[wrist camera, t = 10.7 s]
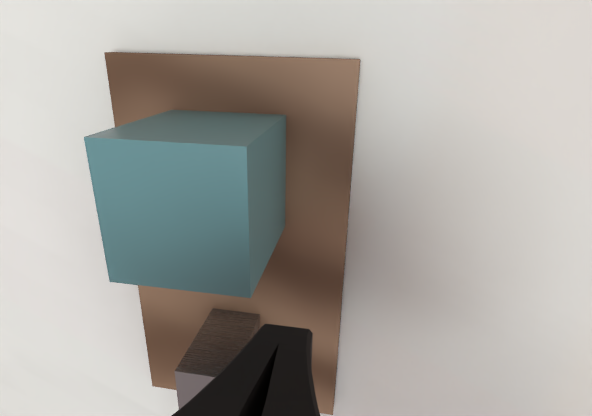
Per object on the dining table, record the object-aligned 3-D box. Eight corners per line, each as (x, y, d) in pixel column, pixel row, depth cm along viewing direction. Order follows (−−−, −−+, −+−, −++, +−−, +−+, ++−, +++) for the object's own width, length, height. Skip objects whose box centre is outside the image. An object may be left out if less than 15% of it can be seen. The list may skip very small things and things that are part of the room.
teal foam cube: (285, 226, 19) (250, 298, 14) (181, 217, 20) (109, 281, 14) (286, 114, 17) (246, 146, 12) (171, 109, 18) (83, 137, 12)
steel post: (260, 353, 22) (234, 424, 18) (215, 346, 23) (179, 415, 18) (259, 314, 21) (232, 379, 17) (212, 308, 22) (174, 371, 17)
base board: (333, 403, 24) (332, 415, 23) (158, 376, 25) (152, 386, 25) (360, 59, 17) (359, 59, 16) (115, 52, 18) (104, 52, 18)
